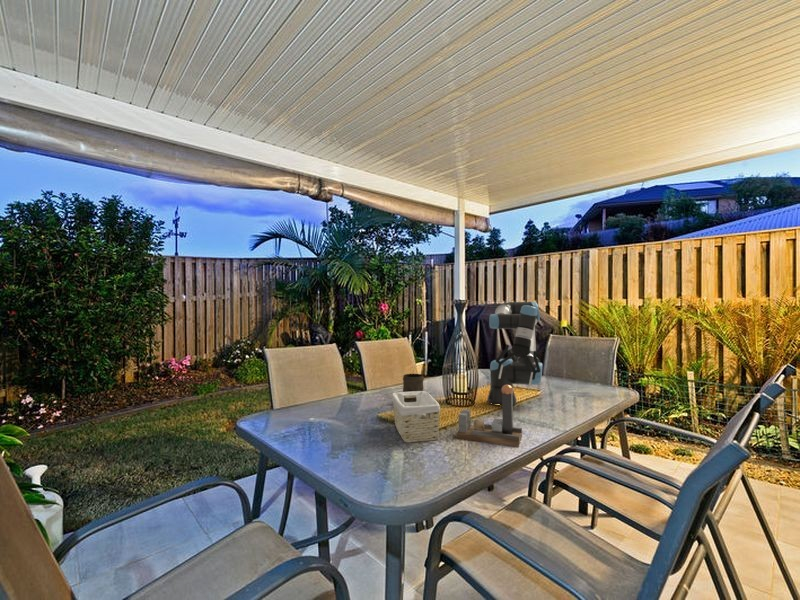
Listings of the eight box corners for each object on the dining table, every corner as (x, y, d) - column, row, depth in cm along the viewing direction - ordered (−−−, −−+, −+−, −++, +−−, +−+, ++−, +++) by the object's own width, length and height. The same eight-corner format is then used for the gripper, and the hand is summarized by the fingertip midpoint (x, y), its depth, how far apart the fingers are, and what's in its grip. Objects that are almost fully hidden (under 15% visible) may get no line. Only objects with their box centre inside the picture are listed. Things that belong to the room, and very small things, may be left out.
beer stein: (421, 420, 172) (421, 376, 173) (399, 418, 175) (399, 375, 177) (429, 413, 186) (429, 372, 188) (409, 411, 190) (409, 371, 191)
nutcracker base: (463, 428, 160) (463, 407, 160) (522, 436, 150) (521, 413, 150) (456, 438, 149) (456, 415, 149) (518, 446, 139) (518, 422, 139)
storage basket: (442, 441, 146) (441, 404, 146) (401, 445, 143) (401, 406, 143) (426, 422, 169) (426, 390, 169) (391, 425, 166) (390, 392, 166)
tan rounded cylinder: (475, 428, 154) (475, 419, 154) (485, 430, 152) (485, 420, 152) (473, 431, 150) (473, 422, 150) (483, 433, 148) (483, 423, 148)
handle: (494, 429, 152) (493, 381, 152) (514, 431, 149) (514, 383, 149) (491, 434, 146) (491, 385, 146) (512, 437, 143) (511, 386, 143)
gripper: (496, 331, 176) (486, 375, 173) (552, 343, 168) (542, 389, 165) (497, 333, 183) (487, 375, 180) (550, 344, 175) (542, 389, 172)
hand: (514, 382), depth 172 cm, fingers open, 13 cm apart
